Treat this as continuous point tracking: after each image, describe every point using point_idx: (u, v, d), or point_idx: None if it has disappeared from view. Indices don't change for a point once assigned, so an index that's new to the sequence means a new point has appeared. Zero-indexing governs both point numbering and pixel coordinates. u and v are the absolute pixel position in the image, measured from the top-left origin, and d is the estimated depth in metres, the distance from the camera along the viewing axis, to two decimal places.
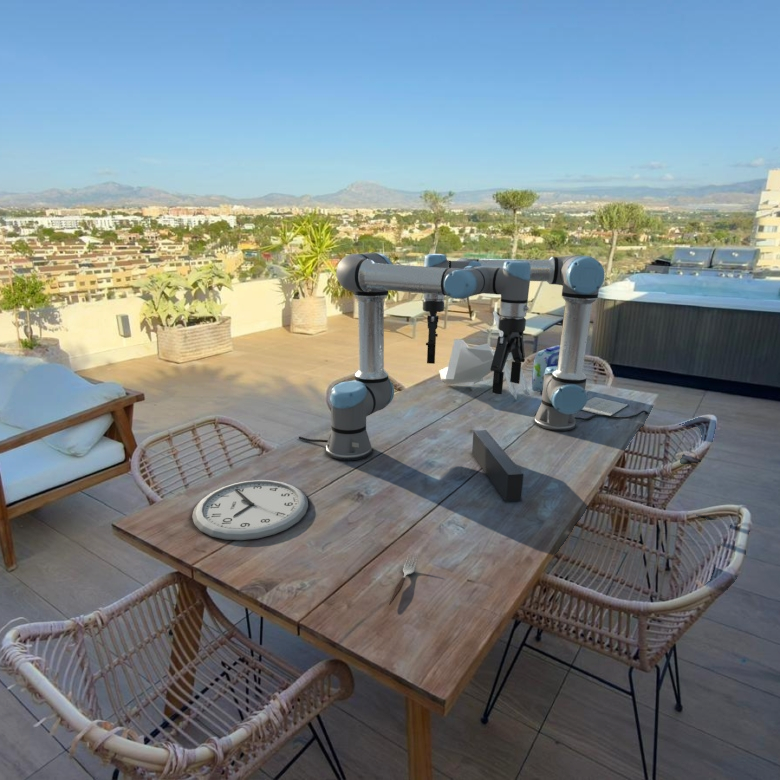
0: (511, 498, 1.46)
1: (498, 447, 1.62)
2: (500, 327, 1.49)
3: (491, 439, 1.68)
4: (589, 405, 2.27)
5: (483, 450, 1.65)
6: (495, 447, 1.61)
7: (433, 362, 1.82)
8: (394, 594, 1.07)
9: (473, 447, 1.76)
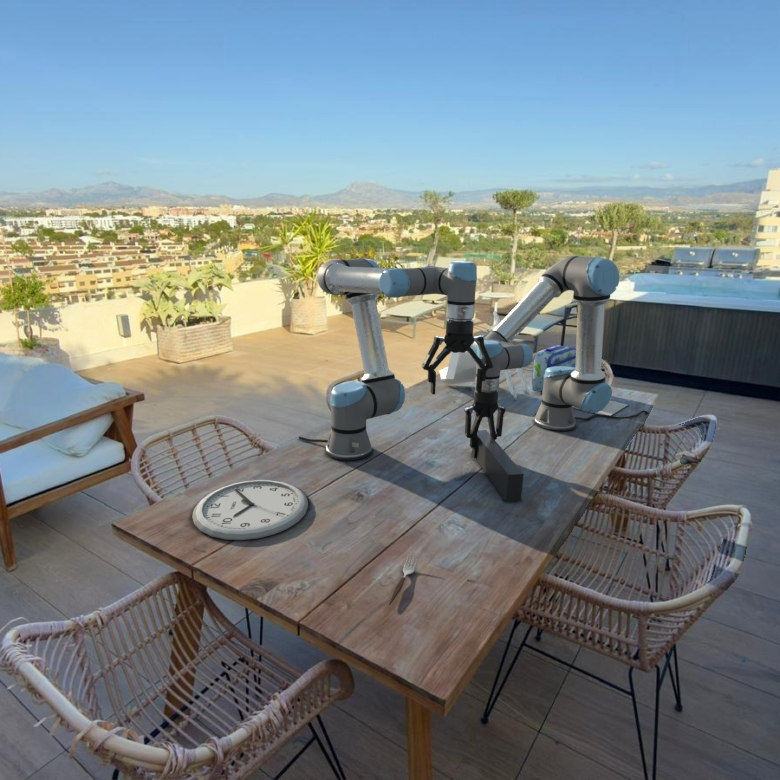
0: (511, 498, 1.46)
1: (498, 447, 1.62)
2: None
3: (491, 439, 1.68)
4: None
5: (483, 450, 1.65)
6: (495, 447, 1.61)
7: None
8: (394, 594, 1.07)
9: None
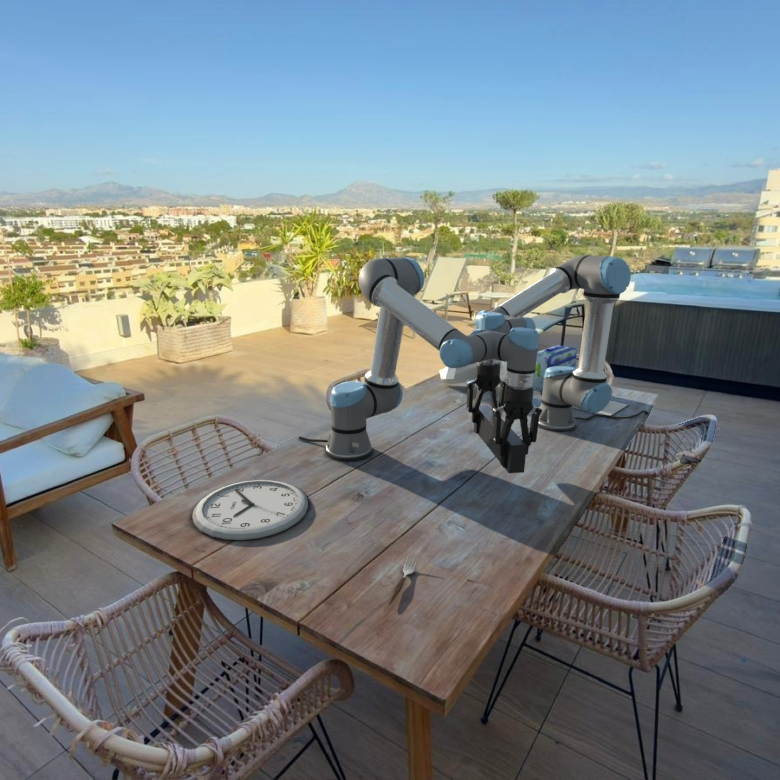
0: (514, 469, 1.44)
1: None
2: None
3: (493, 413, 1.65)
4: None
5: (485, 424, 1.62)
6: None
7: None
8: (394, 594, 1.07)
9: None
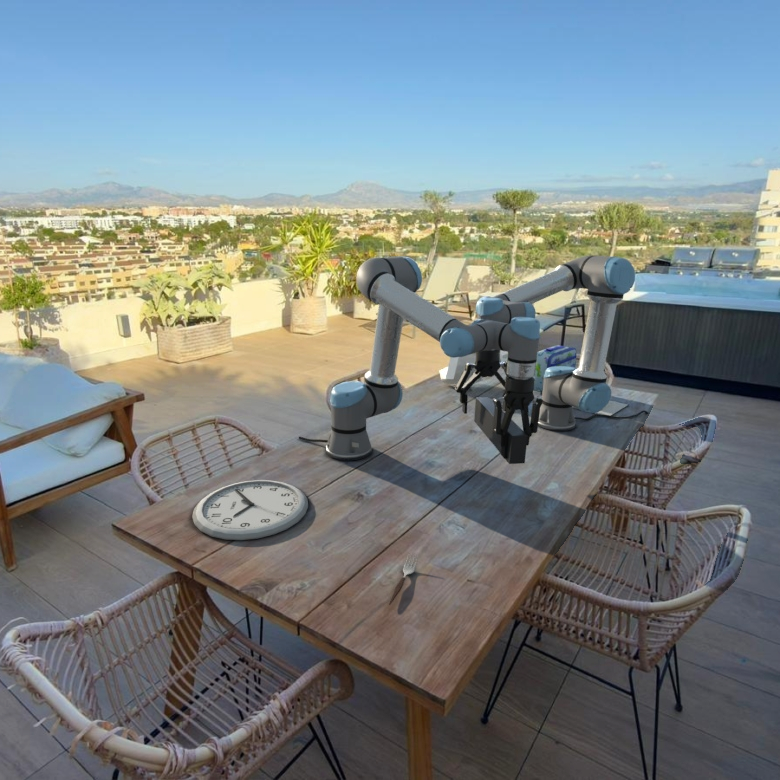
0: (515, 460, 1.43)
1: None
2: None
3: (494, 405, 1.64)
4: None
5: (485, 415, 1.62)
6: None
7: None
8: (394, 594, 1.07)
9: (475, 414, 1.72)
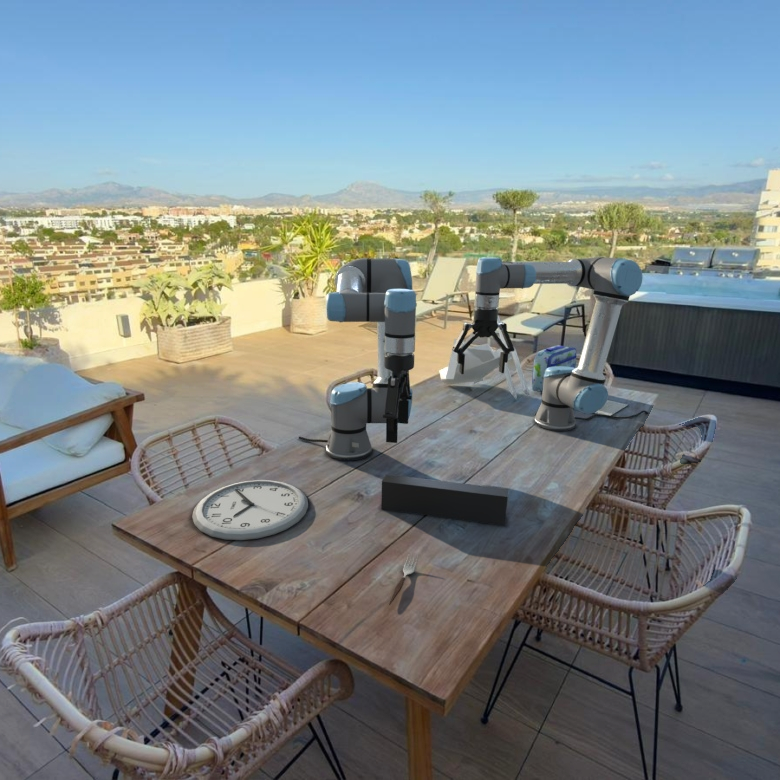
0: None
1: (450, 488, 1.36)
2: None
3: (475, 491, 1.34)
4: None
5: None
6: (450, 486, 1.37)
7: None
8: (394, 594, 1.07)
9: None
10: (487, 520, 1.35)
